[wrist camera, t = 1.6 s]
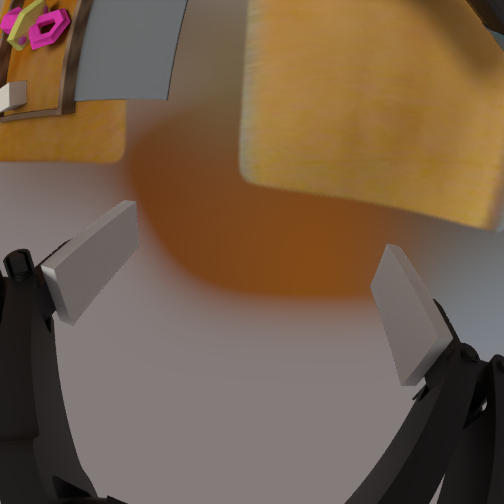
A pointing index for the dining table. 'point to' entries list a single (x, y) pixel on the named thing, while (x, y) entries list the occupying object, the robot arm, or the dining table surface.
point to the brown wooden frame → (66, 102)
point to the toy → (33, 25)
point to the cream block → (13, 95)
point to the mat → (129, 49)
